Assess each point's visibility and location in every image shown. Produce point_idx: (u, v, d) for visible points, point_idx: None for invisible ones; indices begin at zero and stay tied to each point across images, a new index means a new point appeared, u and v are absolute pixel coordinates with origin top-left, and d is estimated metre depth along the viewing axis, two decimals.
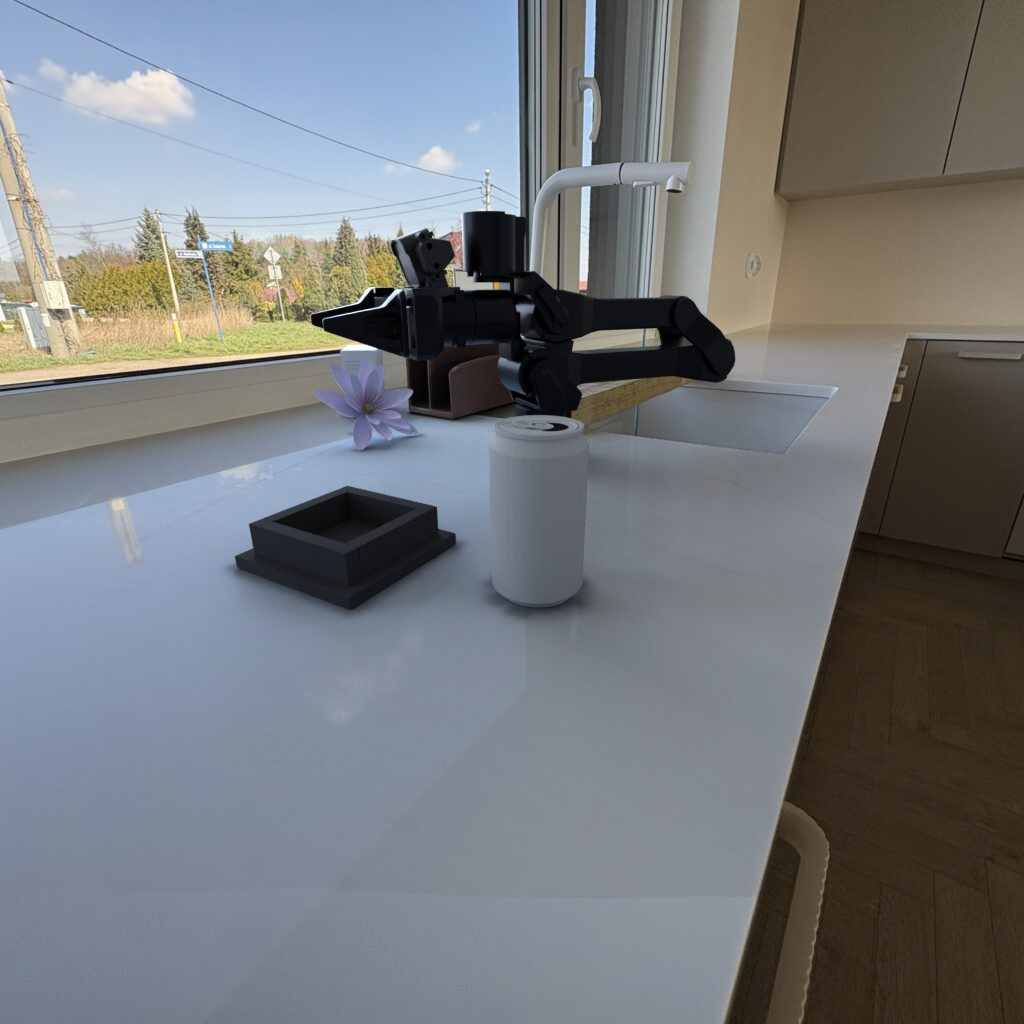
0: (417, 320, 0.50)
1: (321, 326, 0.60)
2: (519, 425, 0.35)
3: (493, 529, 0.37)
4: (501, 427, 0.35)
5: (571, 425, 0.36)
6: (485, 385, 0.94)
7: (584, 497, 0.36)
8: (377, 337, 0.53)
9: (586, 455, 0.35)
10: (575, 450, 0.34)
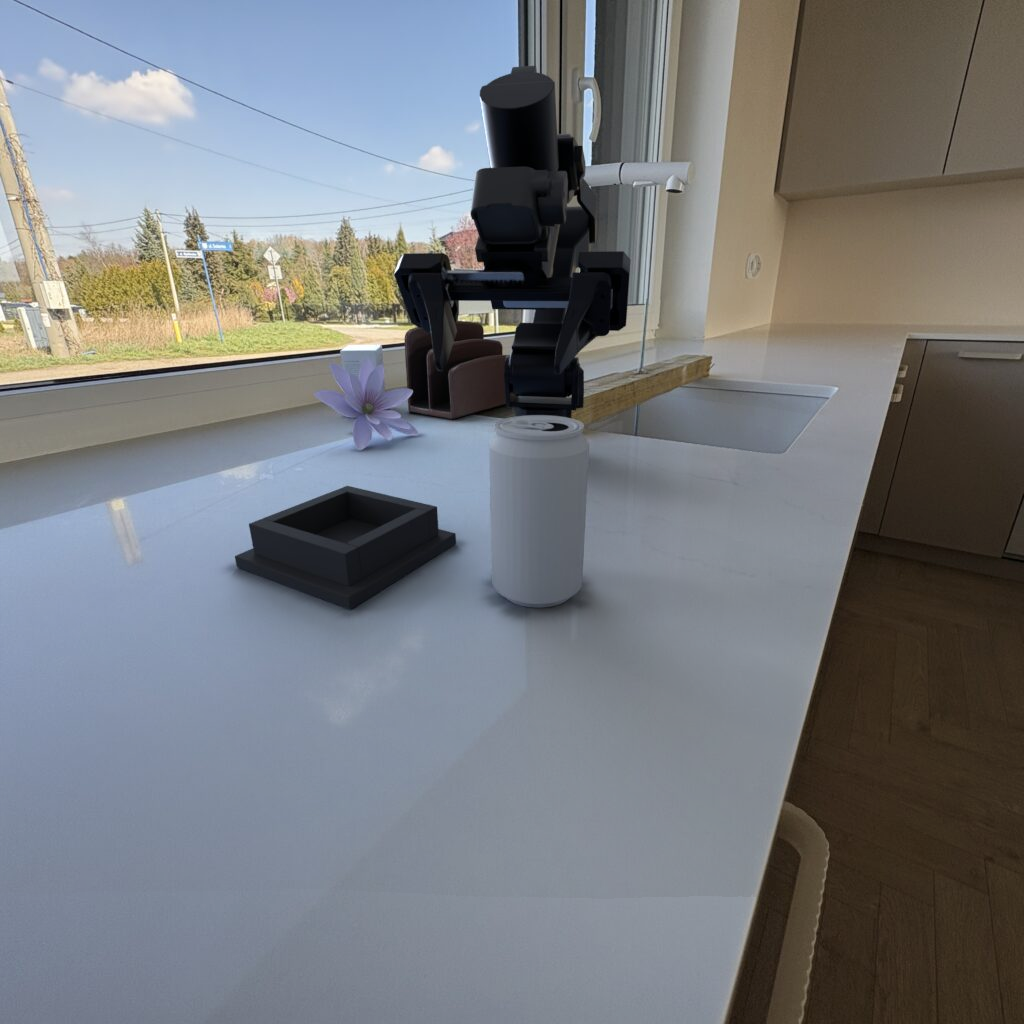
0: (627, 294, 0.44)
1: (445, 363, 0.45)
2: (519, 425, 0.35)
3: (493, 529, 0.37)
4: (501, 427, 0.35)
5: (571, 425, 0.36)
6: (485, 385, 0.94)
7: (584, 497, 0.36)
8: (582, 337, 0.45)
9: (586, 455, 0.35)
10: (574, 450, 0.34)
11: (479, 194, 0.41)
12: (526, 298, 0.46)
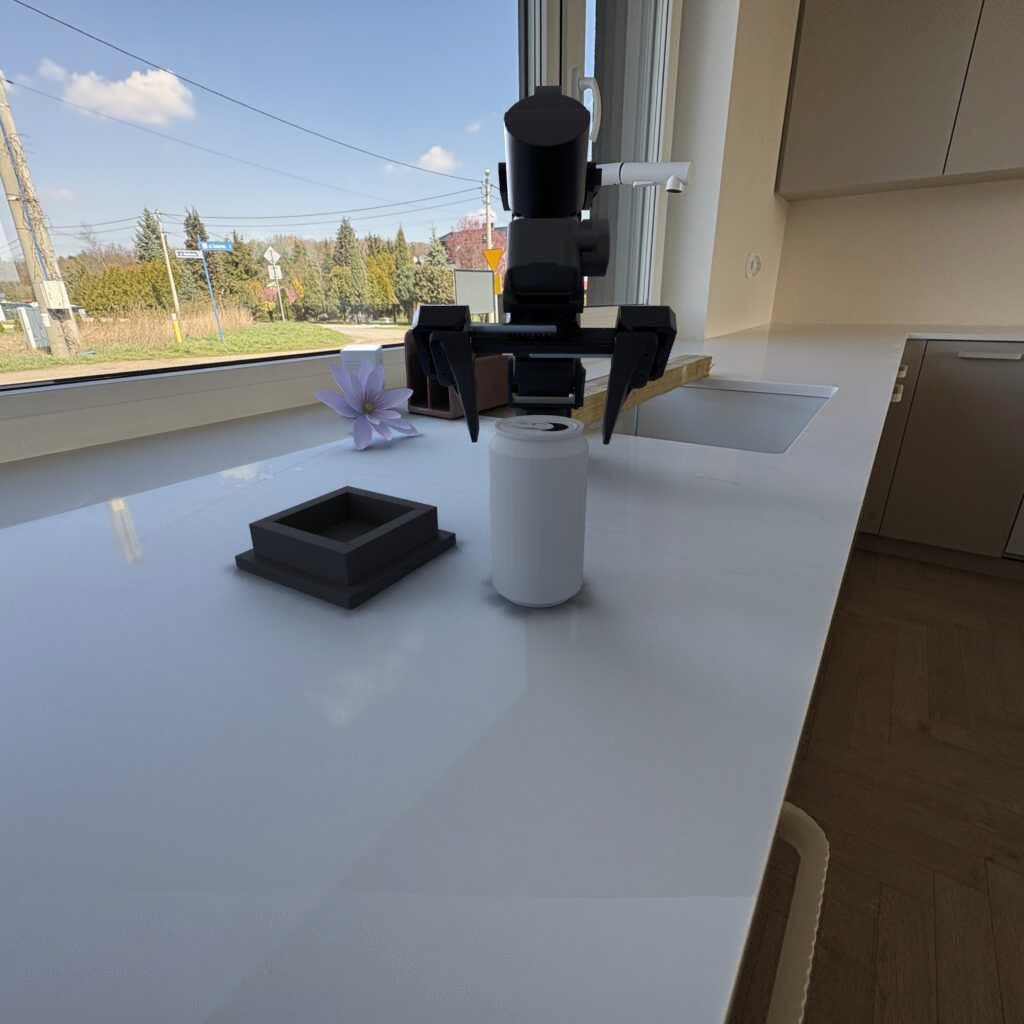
0: None
1: (478, 433, 0.40)
2: (519, 425, 0.35)
3: (493, 529, 0.37)
4: (501, 427, 0.35)
5: (571, 425, 0.36)
6: (484, 385, 0.94)
7: (584, 497, 0.36)
8: (623, 396, 0.42)
9: (586, 455, 0.35)
10: (574, 450, 0.34)
11: (517, 250, 0.36)
12: (558, 351, 0.42)
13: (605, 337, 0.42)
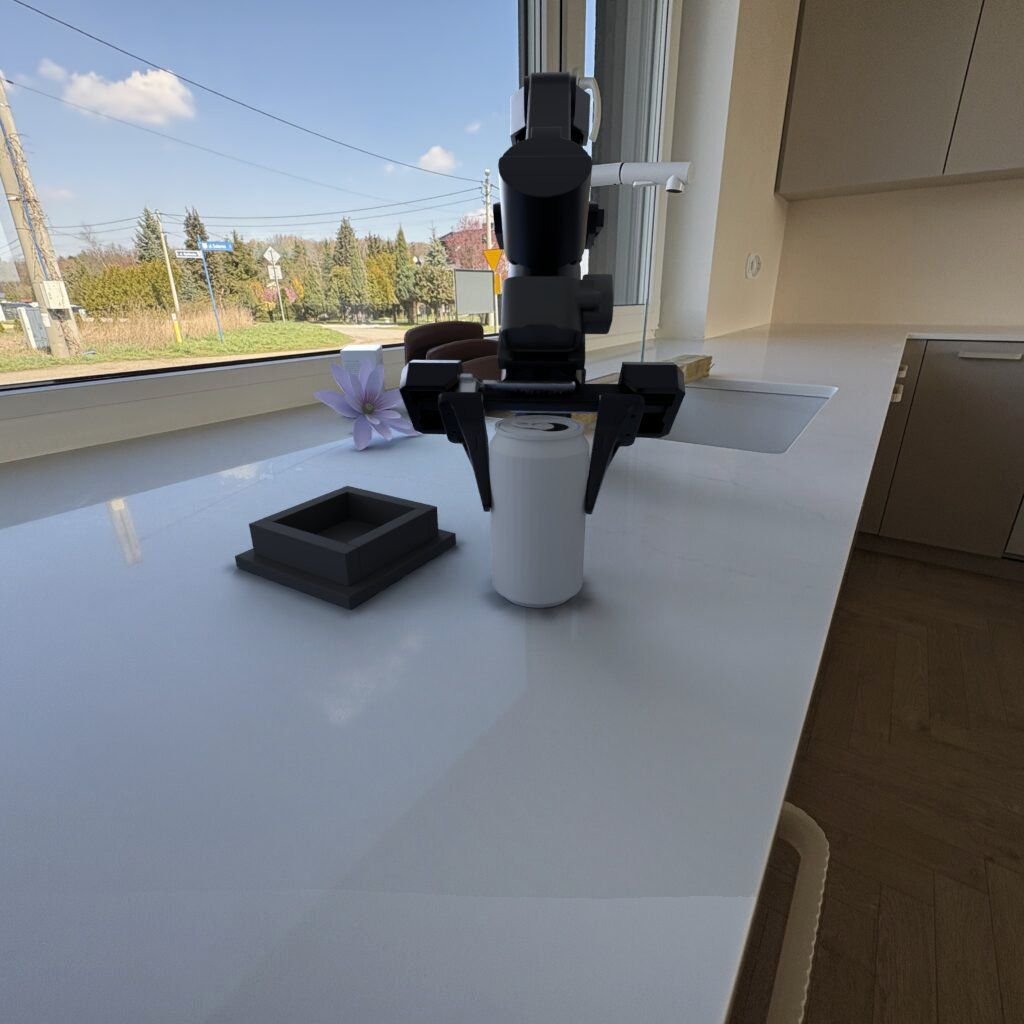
0: (677, 409, 0.38)
1: None
2: (519, 425, 0.35)
3: (493, 529, 0.37)
4: (501, 427, 0.35)
5: (571, 425, 0.36)
6: None
7: (584, 497, 0.36)
8: (608, 458, 0.39)
9: (586, 455, 0.35)
10: (575, 450, 0.34)
11: (513, 311, 0.33)
12: (557, 409, 0.40)
13: None
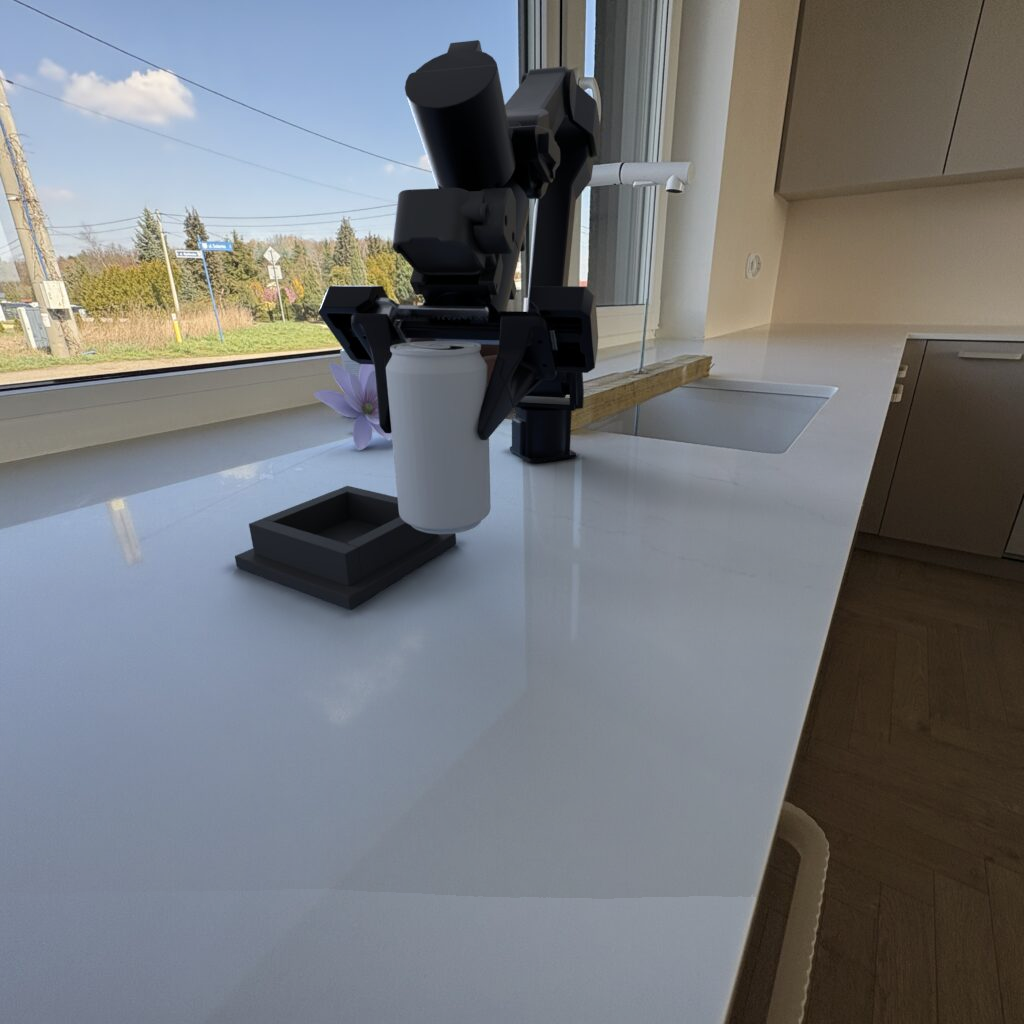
0: (592, 337, 0.36)
1: None
2: (414, 344, 0.35)
3: (393, 451, 0.37)
4: (397, 346, 0.35)
5: (468, 347, 0.35)
6: None
7: (477, 422, 0.35)
8: (519, 387, 0.38)
9: (476, 376, 0.34)
10: (458, 368, 0.33)
11: (400, 225, 0.33)
12: (474, 337, 0.39)
13: None
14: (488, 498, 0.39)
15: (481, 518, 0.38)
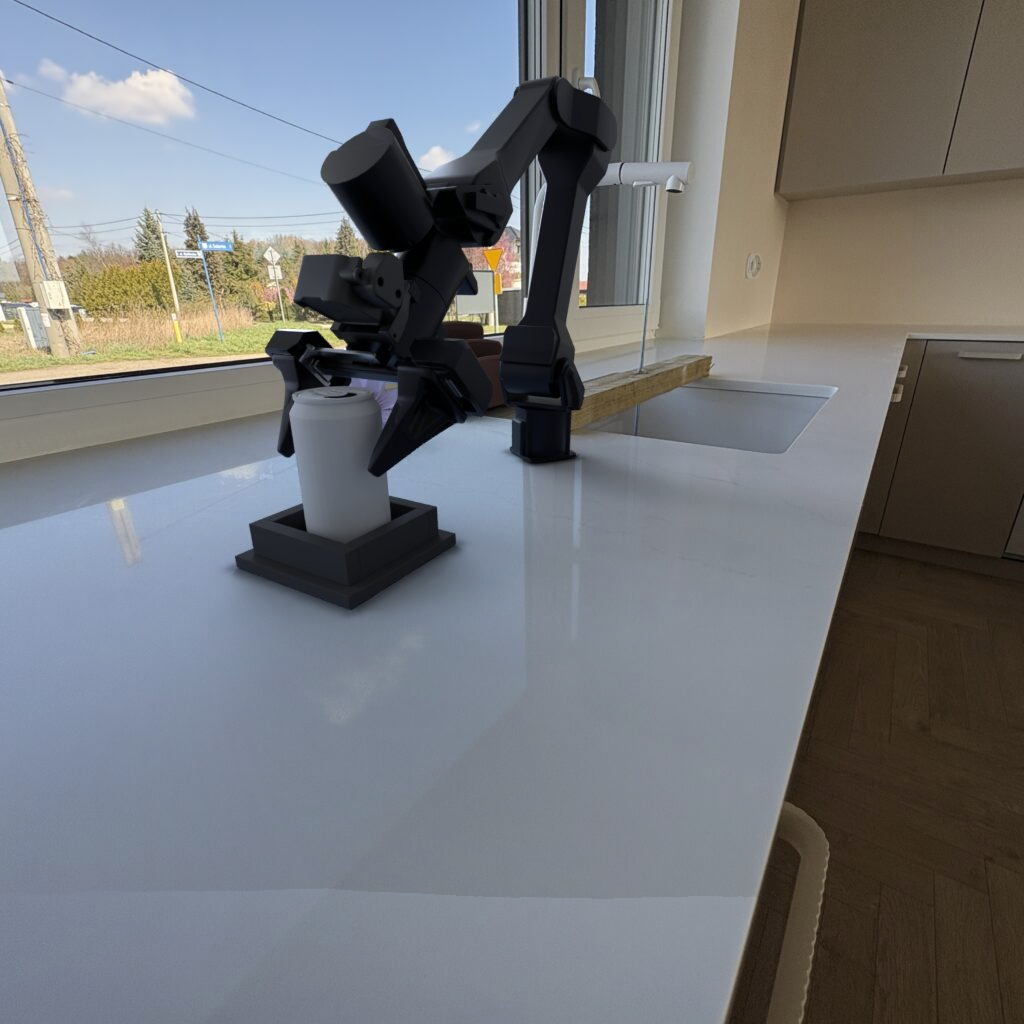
0: (468, 386, 0.39)
1: None
2: (315, 391, 0.41)
3: None
4: (304, 391, 0.41)
5: (357, 395, 0.40)
6: None
7: (360, 461, 0.40)
8: (423, 430, 0.41)
9: (356, 423, 0.39)
10: (335, 416, 0.38)
11: (298, 285, 0.38)
12: (384, 379, 0.43)
13: None
14: None
15: None
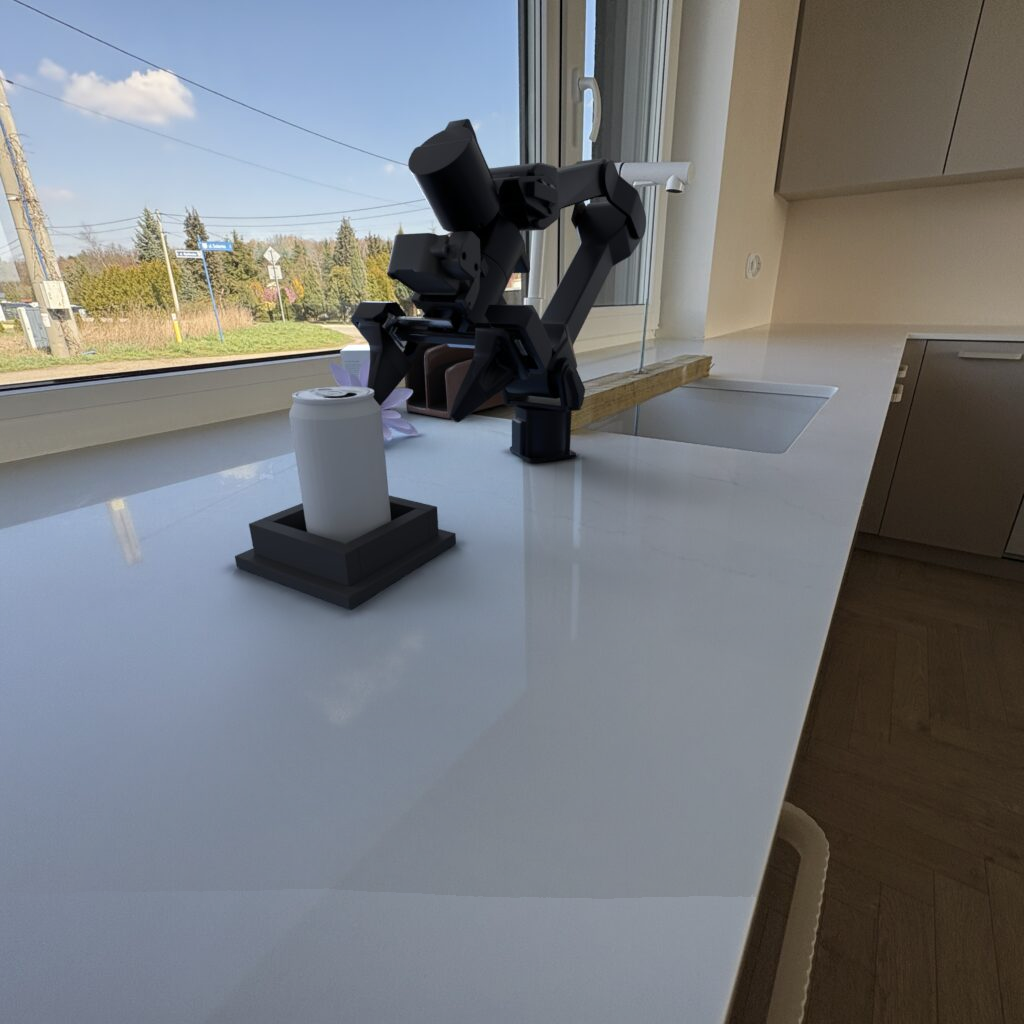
0: (534, 345, 0.46)
1: (380, 403, 0.51)
2: (315, 391, 0.41)
3: None
4: (304, 391, 0.41)
5: (357, 395, 0.40)
6: None
7: (359, 461, 0.40)
8: (494, 383, 0.48)
9: (355, 422, 0.39)
10: (335, 415, 0.38)
11: (391, 260, 0.45)
12: (457, 342, 0.50)
13: None
14: None
15: None
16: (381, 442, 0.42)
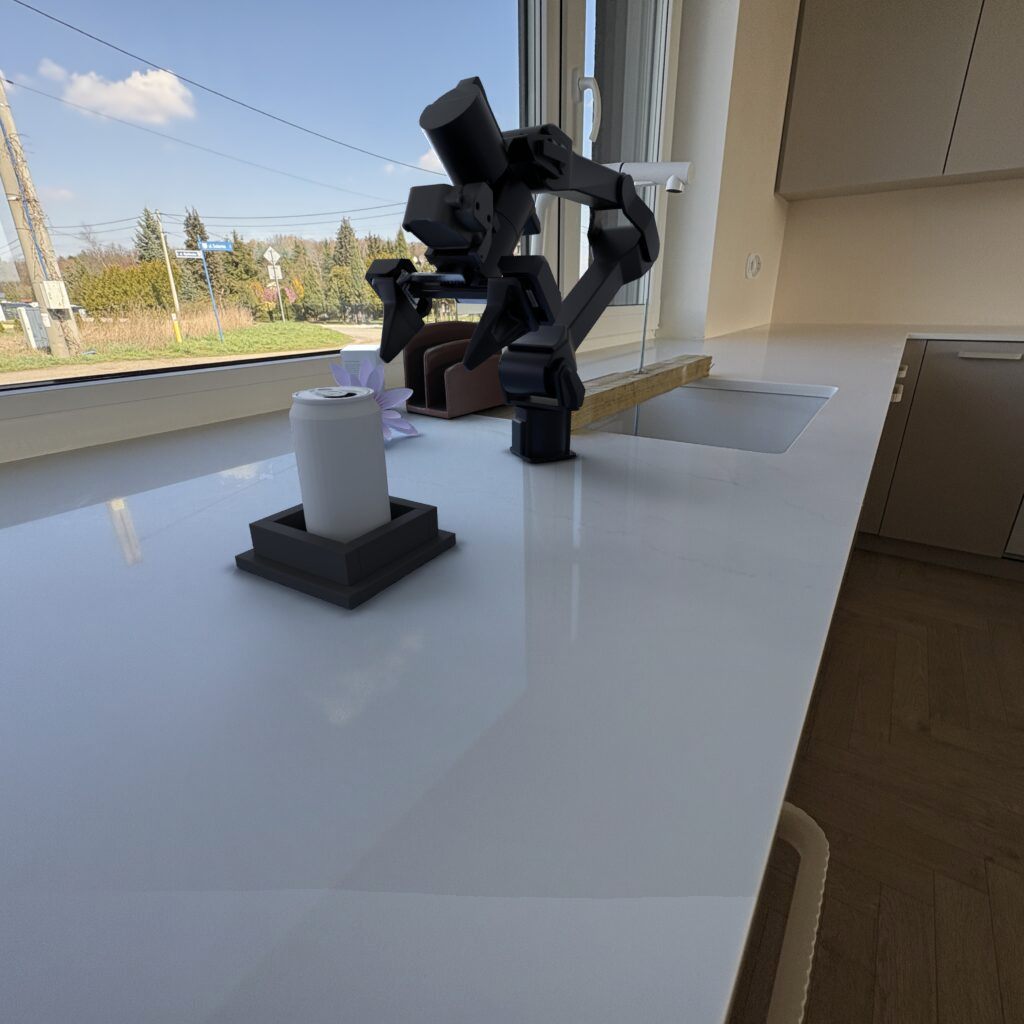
0: (545, 295, 0.47)
1: (393, 357, 0.53)
2: (315, 391, 0.41)
3: None
4: (304, 391, 0.41)
5: (357, 395, 0.40)
6: (482, 385, 0.94)
7: (359, 461, 0.40)
8: (505, 334, 0.49)
9: (355, 422, 0.39)
10: (335, 415, 0.38)
11: (407, 211, 0.47)
12: (469, 297, 0.51)
13: None
14: None
15: None
16: (381, 442, 0.42)
